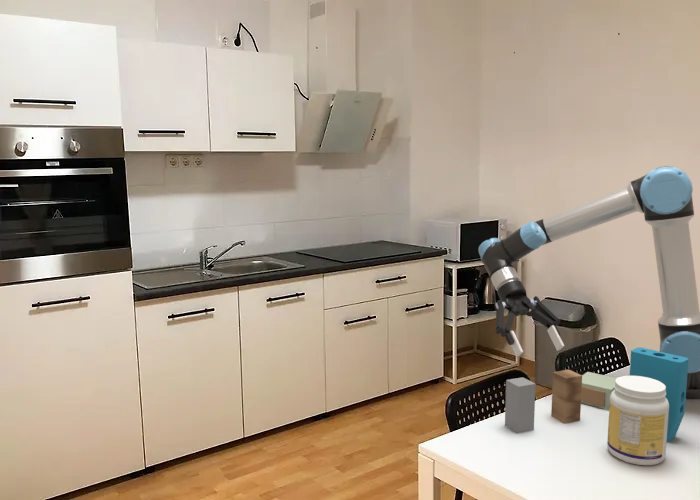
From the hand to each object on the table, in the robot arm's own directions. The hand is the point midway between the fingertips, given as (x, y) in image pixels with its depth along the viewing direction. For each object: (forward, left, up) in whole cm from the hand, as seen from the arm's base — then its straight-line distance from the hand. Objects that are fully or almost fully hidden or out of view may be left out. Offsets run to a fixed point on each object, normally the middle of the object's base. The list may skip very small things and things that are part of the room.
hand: (540, 351), depth 170 cm
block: (-30, 0, -15) cm, 33 cm away
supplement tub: (-30, +14, -15) cm, 36 cm away
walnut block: (-10, +5, -15) cm, 18 cm away
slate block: (-3, +18, -15) cm, 23 cm away
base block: (-12, -13, -15) cm, 23 cm away
